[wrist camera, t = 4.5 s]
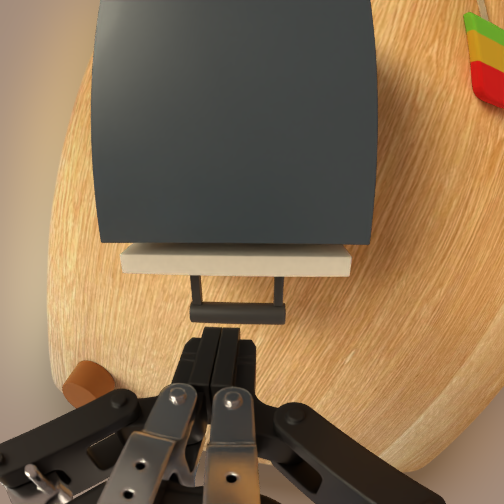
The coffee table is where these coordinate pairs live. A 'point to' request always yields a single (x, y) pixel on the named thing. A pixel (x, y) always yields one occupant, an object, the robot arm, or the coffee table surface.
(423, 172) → the coffee table surface
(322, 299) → the coffee table surface
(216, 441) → the robot arm
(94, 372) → the orange brown cylinder
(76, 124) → the coffee table surface
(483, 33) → the popsicle
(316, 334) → the coffee table surface
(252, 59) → the cabinet
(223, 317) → the drawer
